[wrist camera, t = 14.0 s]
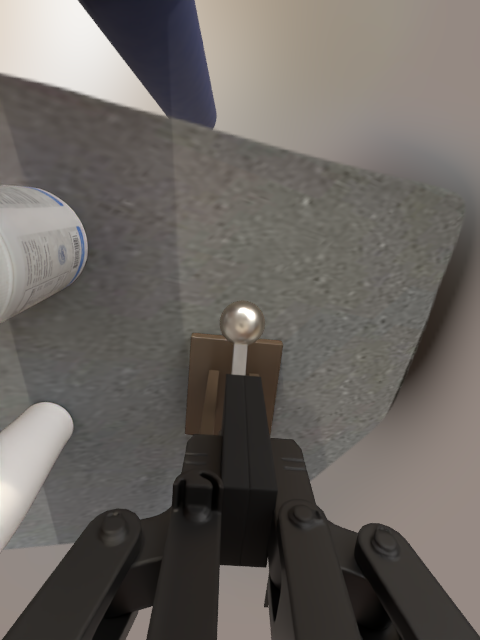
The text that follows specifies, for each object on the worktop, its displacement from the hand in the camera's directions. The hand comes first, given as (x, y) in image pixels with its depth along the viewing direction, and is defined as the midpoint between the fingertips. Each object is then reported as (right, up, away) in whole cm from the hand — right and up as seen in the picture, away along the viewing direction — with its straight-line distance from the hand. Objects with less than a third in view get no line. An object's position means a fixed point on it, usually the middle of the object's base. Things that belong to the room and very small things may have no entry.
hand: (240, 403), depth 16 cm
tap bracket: (-1, -3, +23) cm, 23 cm away
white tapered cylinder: (-20, -7, +24) cm, 32 cm away
